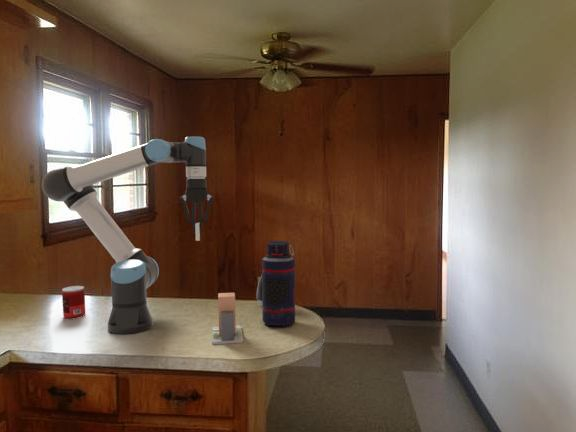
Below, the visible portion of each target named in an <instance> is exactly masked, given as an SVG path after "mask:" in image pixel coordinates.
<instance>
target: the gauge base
mask: <svg viewBox="0 0 576 432" xmlns="http://www.w3.org/2000/svg"><path fill="white" fill-rule="evenodd" d="M211 328H212V331H211V333H212V335H211V336H212V337H211V344H212V345H221V344H224V345H225V344H236V343H237V344H238V343H244V335H243V330H236V335H234V341H222V340H221V336H219V332H213V329H219V326H212V327H211ZM236 328H242V325H239V324H238V325H236Z"/></svg>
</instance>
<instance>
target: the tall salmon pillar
mask: <svg viewBox="0 0 576 432" xmlns="http://www.w3.org/2000/svg"><path fill="white" fill-rule="evenodd" d="M217 298H218V299H217V300H218V303H217V304H218V327H219V329H213V332H219V336H221V311H233V313H234V335H236V330H242V329H243V328H242V327H241V328H236V326H237V325H236V323H237V322H236V321H237V320H236V294H235V292H219V293H217ZM242 331H243V330H242Z"/></svg>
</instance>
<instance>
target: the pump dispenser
mask: <svg viewBox="0 0 576 432" xmlns="http://www.w3.org/2000/svg"><path fill="white" fill-rule="evenodd" d="M255 299H256V300H257V302H258V304H259V306H261V307H262V274H261V276H260V278H259V281H258V283H257V288H256V297H255Z"/></svg>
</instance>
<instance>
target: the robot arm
mask: <svg viewBox="0 0 576 432" xmlns="http://www.w3.org/2000/svg"><path fill="white" fill-rule="evenodd" d="M159 163H160V164H162V163H163V164H165V163H168V164H169V163H170V164H171V163H172V164H173V163H185V177H186V181H185V185H186V189H185V193H184V194H183V195H182V196H180V197H179V200H180V202H181V204H182V206H183V207H182V208H183V210H184V214H185V217H186V220H187V222H188V223H191V225H192V227H191V228H192V232H193V233H195V241H196V242H198V241H199V242H200V241H201V234H200V233H201V232H203V227H204V226H203V224H204V223H205V222H207V221H208V217H209V213H210V210H211V209H210V208H211V206H212V205H211V204H212V202H213V200H214V199H215V197H214V196H212V195H210V193H209V191H208V189H207V188H208V185H207V184H208V183H207V179H206V177H207V147H206V138H204V137H203V136H195V135H194V136H186V137H185V138H184V141H182V142H173V141H172V142H170V141H166V140H164V139H162V138H161V139H160V138H155V139H151V140H149V141H148V142H146V143H144V144H141V145H137V146H135V147H132V148H129V149H125V150H122V151H120V152H118V153H117V152H116V153H113V154H111V155H107V156H105V157H101V158H98V159H96V160H92V161H90V162H86V163H83V164H80V165H78V166H73V165H67V166H64V167H60V168H56V169H53V170H50V171H48V172H47V173H46V174H45V175H44V176H43V178H42V181H41V190H42V191H43V194H44V195H45V196H46V197H47V198H49V200H52V201H54V202H63V203H64V204H65V205H66V207H67V208H68V209H69V211H71V212H72V211H73V212H77V214H78V216H79V217H80V218H81V219H82V220H83V222H84V223H85V224H86V225H87V227H88V228H89V230H91V232H92V233H93V234H94V235H95V237H96V238H97V240H99V241H98V242H100V243H101V244H102V246H103V247H104V248H105V250H107V251H106V252H108V253H109V255H110V257H112V259H113V260H114V261H115V263H114V264H113V265H112V266H111V268H110V282H111V283H110V286H111V303H112V305H111V307H112V308H111V311H110V315H109V319H108V321H107V331H108V332H110V333H111V332H112V334H115V335H116V334H117V335H130V334H137V333H141V332H145V331H147V330H149V329H151V328H152V327H153V317H152V315H151V312H150V309H149V307H148V303H147V302H148V301H147V289H149V287H151V286H152V285H153V286H154V284H155V282H156V281H157V279H158V277H159V272H160V269H159V265H158V263H157V262H156V260H155V259H153V258H152V257H150V256H147V255H146V254H145V252H144V251H143V250H142V249H141V248H137V247H135V246H134V244H133V243H132V242H131V241H130V239H128V237H127V235H126V234H125V233H124V232H123V230H122V228H120V227H119V225H118V224H117V223H116V222H115V220H114V218H112V216H111V215H110V214H109V212H108V211H107V210H106V208H105V207H104V206H103V205H102V204H101V202H100V201H99V200H98V198H97V197H98V192H97V190H96V189H95V188H94V185H96V184H99V183H102V182H104V181H107V180H111V179H112V178H113V179H114V178H116V177H119V176H122V175H126V174H128V173H131V172H135V171H138V170H140V169H143V168H146V167H150V166H153V165H156V164H159ZM206 198H207V199H206ZM187 199H188V200H189V202H190V203H191V216H190V211H189V208H188V205H187V202H186V201H187ZM205 199H206V200H207V204H206V209H205V214H204V217H203V203H204V201H205ZM197 203H198V222H196V217H197V215H196V204H197Z"/></svg>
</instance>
